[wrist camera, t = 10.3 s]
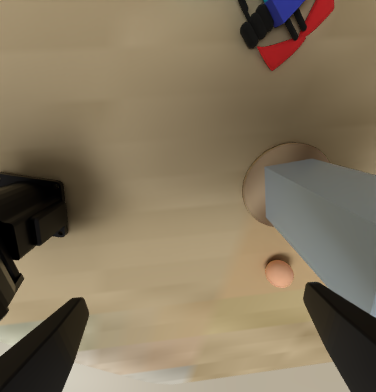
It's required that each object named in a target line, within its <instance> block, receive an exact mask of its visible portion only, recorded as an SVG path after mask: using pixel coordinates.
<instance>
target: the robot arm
mask: <svg viewBox="0 0 376 392" xmlns="http://www.w3.org/2000/svg"><path fill="white" fill-rule="evenodd" d="M0 178H1V179H0V321H1V320H2V319H3V318H4V317H5V316H6V314H7V313H8V311H9V308H8V305H9V304H10V302H11V300H12V299H13V297H14V295H15V293H16V292H17V290H18V288H19V287H20V285H21V283H22V282H23V280H24V277H23V275H22V274H21V273H19V271H18V269H17V267H16V265H15V263H14V261H13V260H19V259H20V258H22V257H23V256H24V255H25V254H27V253H28V252H29V251H30V250H32V249H33V248H34V247H35V246H40V245H42V244H43V243H44V242H45V241H47V240H48V239H49V238H50V237H52V236H55V237H64V236H65V235H66V234H67V210H66V202H65V197H64V186H63V183H62V182H61V181H58V180H51V179H43V178H36V177H29V176H22V175H15V174H8V173H0ZM56 184H57V185H58V186H59V188H58V187H57V186H56ZM60 231H61V232H62V233H61V232H60ZM303 300H304V303H305V306H306V308H307V310H308V312H309V314H310V316H311V318H312V321H313V323H314V325H315V327H316V329H317V331H318V333H319V336H320V338H321V340H322V342H323V344H324V346H325V348H326V350H327V351H328V353H329V355H330V357H331V358H332V360H333V362H334V363H335V365H336V367H337V369H338V371H339V372H340V374H341V376H342V378H343V379H344V381H345V383H346V384H347V386H348V388H349V390H350V391H351V392H376V318H375V317H374V316H372V315H370V314H369V313H367V312H366V311H364V310H362V309H361V308H359V307H358V306H356V305H354V304H353V303H351V302H350V301H348V300H346V299H345V298H343V297H342V296H340V295H338V294H337V293H335V292H334V291H332V290H330V289H329V288H327V287H325V286H324V285H322V284H321V283H319V282H308V283H307V284H306V286H305V291H304V296H303ZM88 317H89V311H88V308H87V305H86V302H85V300H84V298H83V297H78V298H72V299H70V300H69V301H68V302H67V303H65V304H64V305H63V306H62V307H60V308H59V309H58V310H57V311H56V312H54V313H53V314H52V315H51V316H49V317H48V318H47V319H46V320H45V321H43V322H42V323H41V324H40V325H38V326H37V327H36V328H35V329H33V330H32V331H31V332H30V333H29V334H27V335H26V336H25V337H24V338H22V339H21V340H20V341H19V342H18V343H16V344H15V345H14V346H13V347H11V348H10V349H9V350H8V351H7V352H5V353H4V354H3V355H2V356H0V392H62V390H63V388H64V385H65V383H66V380H67V378H68V376H69V373H70V371H71V368H72V366H73V363H74V360H75V358H76V355H77V351H78V348H79V345H80V342H81V339H82V336H83V333H84V330H85V327H86V324H87V320H88Z"/></svg>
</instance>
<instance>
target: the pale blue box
mask: <svg viewBox="0 0 376 392" xmlns="http://www.w3.org/2000/svg"><path fill="white" fill-rule="evenodd" d="M264 168H265V205H266V218H267V219H268V220H269V221H270V222H271V223H272V225H273V226H274V227H275V228H276V229H277V230H278V231H279V233H280V234H281V235H282V236H283V237H284V238H285V239H286V240H287V242H288V243H289V244H290V245H291V246H292V247H293V248H294V249H295V251H296V252H297V253H298V254H299V255H300V256H301V257H302V259H303V260H304V261H305V262H306V263H307V264H308V265H309V266H310V268H311V269H312V270H313V271H314V272H315V273H316V274H317V276H318V277H319V278H320V279H321V280H322V281H323V282H324V283H325V285H326V286H327V287H328V288H329V289H330V290H332V291H334V292H335V293H337V294H338V295H340V296H342V297H343V298H345V299H346V300H348V301H350V302H351V303H353V304H354V305H356V306H358V307H359V308H361V309H362V310H364V311H366V312H367V313H369V314H370V315H372V316H374V317H375V318H376V175H374V174H370V173H366V172H362V171H358V170H354V169H350V168H347V167H343V166H339V165H335V164H331V163H327V162H323V161H320V160H316V159H307V160H301V161H295V162H289V163H283V164H277V165H272V166H266V167H264Z"/></svg>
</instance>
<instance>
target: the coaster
mask: <svg viewBox="0 0 376 392" xmlns="http://www.w3.org/2000/svg"><path fill="white" fill-rule="evenodd" d="M307 159H316V160H320V161H323V162H327V163H330V162H329V160H328V159H327V157H326V156H325V155H324V154H323V153H322V152H321V151H320V150H318V149H317V148H315V147H313V146H310V145H306V144H301V143H286V144H281V145H278V146H275V147H273V148H271V149H269V150H267V151H266V152H264V153H263V154H262V155H260V156H259V157H258V158H257V159H256V160H255V161H254V163H253V164H252V165H251V166H250V168H249V170H248V172H247V174H246V176H245V179H244V182H243V189H242V194H243V200H244V203H245V206H246V208H247V209H248V211H249V212H250V213H251V215H252V216H253V217H254V218H255V219H256V220H258V221H259V222H261V223H263V224H265V225H268V226H272V227H274V226H273V225H272V223H271V222H270V221H269V220H268V219H267V218H266V205H265V168H264V167H266V166H272V165H277V164H283V163H289V162H295V161H301V160H307Z"/></svg>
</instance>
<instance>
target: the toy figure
mask: <svg viewBox="0 0 376 392" xmlns="http://www.w3.org/2000/svg"><path fill="white" fill-rule="evenodd" d="M238 1H239V4H240V6H241V9H242V11H243V13H244V15H245V17H246V19H247V21H248V22H245V23H243V24H242V26H241V28H240V33H241V35H242V37H243V39H244V41H245V43H246V44H247V46H248V47H249V48H250V49H251V48H254V47H256V45H257V43H258V39H259V40H261V39H263V38H264V37H265V36H266V33H267V32H269V31H271V30H272V28H273V26H274V27H275V28H276V27H278V26H280V25H281V24H283V23H285V25H286V27H287V29H288V31H289V33H290V35H291V37H292V39H289V40H286V41H283V42H281V43H277V44H274V45H270V46H266V47H259V46H257V48H258V50H259V52H260V54H261V56H262V58H263V59H264V61H265V63H266V64H267V66H268V67H269V68H270V70H271V71H273V70H274V69H276V68H277V67H278V66H279V65H281V64H282V63H283V62H284V61H285V60H286V59H288V58H289V57H290V56H291V55H292V54H293V53H294V52H295V51H296V50H297V49H298V48H299V47H300V46H301V44H302V43H303V42H304V40H305V39H306V36H307V35H309V34H310V33H311V32H312V31H314V30H315V29H316V28H317V27H318V26H319V25H320V24H321V23H322V22H323V21H324V20H325V19H326V18H327V17H328V16H329V14H330V13H331V12H332V11H333V9H334V0H315V3H314V5H313V7H312V9H311V11H310V13H309V15H308V16H307V18H306V21H304V19H303V17H302V15H301V12H300V10H299V6H300V5H301V4H302V3H303V2H304V1H305V0H263V1H264V4H261V5H259V6H258V8H257V9H256V13H253V14H252V15H251V16H249V14H248V12H247V11H248V6H247V4H246V1H245V0H238ZM292 14H294V17H295V19H296V21H297V23H298V25H299V27H300V29H301V31H300V33H299V36H298V34H297V32H296V30H295V28H294V26H293V24H292V22H291V20H290V18H289V17H290V16H291V15H292Z"/></svg>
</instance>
